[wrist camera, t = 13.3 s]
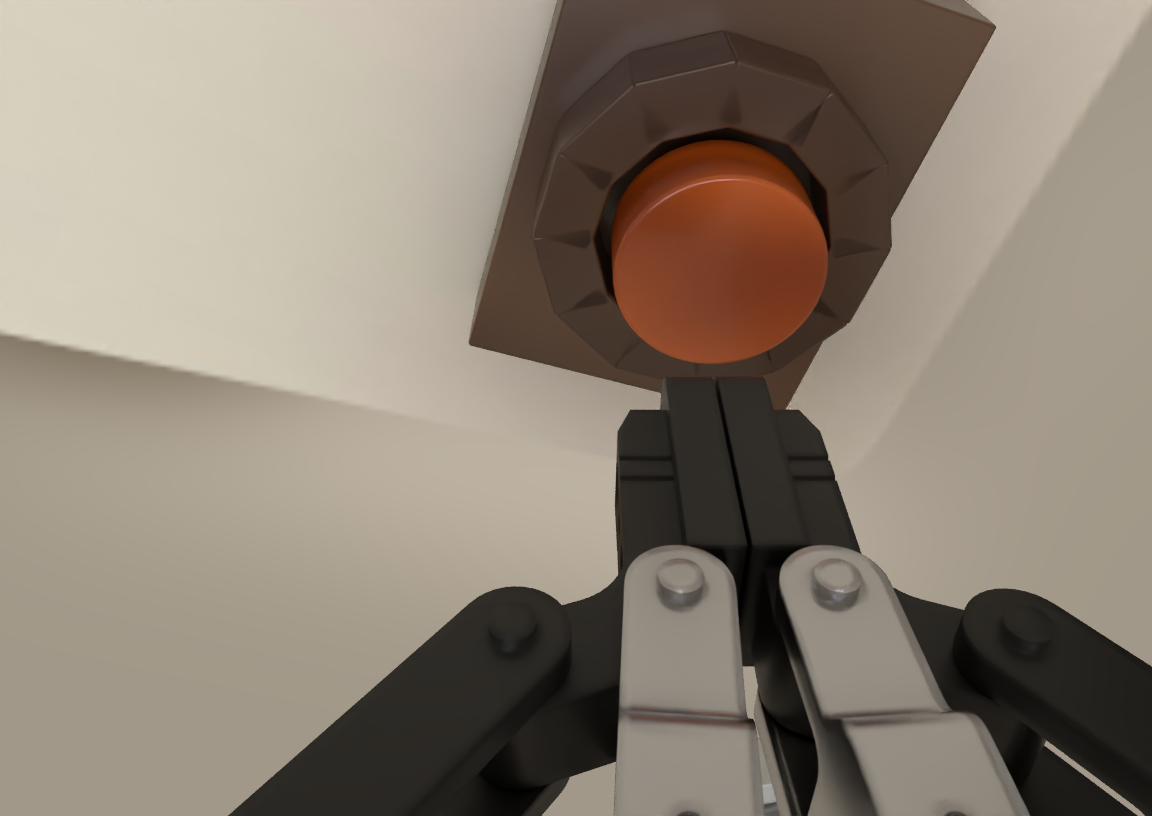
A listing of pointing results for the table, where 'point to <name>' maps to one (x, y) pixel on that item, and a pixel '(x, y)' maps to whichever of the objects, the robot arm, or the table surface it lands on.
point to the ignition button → (717, 252)
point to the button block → (713, 112)
